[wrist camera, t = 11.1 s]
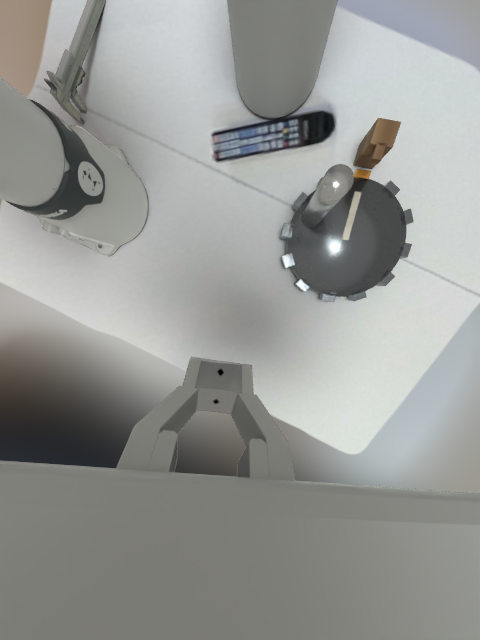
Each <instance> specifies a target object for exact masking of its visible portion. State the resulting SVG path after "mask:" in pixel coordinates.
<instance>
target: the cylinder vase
mask: <svg viewBox="0 0 480 640" xmlns="http://www.w3.org/2000/svg"><path fill="white" fill-rule="evenodd" d="M337 1H338V0H227V4H228V12H229V21H230V29H231V38H232V46H233V55H234V63H235V72H236V80H237V86H238V90H239V93H240V95H241V97H242V99H243V101H244V103H245V104H246V105H247V107H248V108H249V109H250V110H251V111H253V112H254V113H256V114H257V115H259V116H262V117H265V118H280V117H283V116H286V115H288V114H290V113H292V112H293V111H295V110H296V109H297V108H299V107H300V106H301V105H302V104H303V102H304V101H305V100H306V99H307V97H308V96H309V94H310V93H311V91H312V89H313V87H314V84H315V82H316V79H317V75H318V72H319V68H320V64H321V61H322V57H323V53H324V49H325V46H326V42H327V38H328V35H329V31H330V27H331V24H332V20H333V16H334V13H335V9H336V5H337Z"/></svg>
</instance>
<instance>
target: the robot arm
mask: <svg viewBox="0 0 480 640" xmlns="http://www.w3.org/2000/svg"><path fill="white" fill-rule="evenodd" d="M0 199H2V200H5V201H7V202H8V203H10V204H11V205H13V206H15V207H17V208H19V209H21V210H23V211H25V212H28V213H31V214H33V215H35V216H37V217H38V218H39V220H40V223H41V224H42V225H43V227H42V228H43V230H46V231H48V232H51V233H55V234H58V235H60V234H61V235H63V236H65V237H67V238H69V239H71V240H74V241H76V242H78V243H80V244H82V245H84V246H86V247H88V248H91V249H93V250H95V251H97V252H99V253H101V254H104V255H106V256H111V255H113V254H114V253H115V252H116V250H117V249H118V248H119V247H120V246H121V245H123V244H125V243H127V242H129V241H131V240H132V239H134V238H135V237H136V236H137V235H138V234H139V233H140V231H141V230H142V228H143V226H144V224H145V221H146V218H147V213H148V200H147V194H146V191H145V188H144V186H143V184H142V182H141V180H140V179H139V177H138V176H137V175H136V173H135V172H134V171H133V170H132V169H131V168H130V167H129V165H128V163H127V160H126V158H125V156H124V154H123V152H122V150H121V149H119V148H118V147H117V146H115V145H104V144H103V143H102V142H100V141H99V140H98V139H96V138H95V137H94V136H93V135H91V134H90V133H89V132H87V131H86V130H85V129H84V128H82V127H80V126H78V125H75V126H71V125H67V124H66V123H65V122H64V121H63V120H61V119H60V118H59V117H58V116H56V115H55V114H54V113H52V112H50V111H49V110H48V109H46V108H45V107H43V106H42V105H40V104H39V103H37V102H35V101H33V100H30V99H28V98H26V97H25V96H24V95H23V94H21V93H20V92H19V91H18V90H16V89H15V88H14V87H12V86H11V85H10V84H9V83H8V82H6V81H5V80H4V79H3V78H1V77H0ZM101 245H102V248H101ZM196 410H198V411H210V412H219V413H227V414H231V416H232V418H233V420H234V422H235V425H236V427H237V429H238V431H239V433H240V435H241V438H242V439H243V442H244V444H245V446H246V449H245V450H244V452H243V454H242V456H241V458H240V460H239V461H238V463H237V477H231V476H216V475H200V474H186V473H174V471H175V467H176V462H177V434H178V433H179V432H180V431H181V429H182V428H183V427H184V426H185V424H186V423H187V422H188V421H189V420H190V418H191V417H192V416H193V415H194V413H195V412H196ZM0 640H480V494H479V493H463V492H449V491H434V490H420V489H405V488H391V487H377V486H362V485H347V484H333V483H332V484H331V483H318V482H317V483H316V482H304V481H295V477H294V472H293V466H292V460H291V455H290V449H289V443H288V440H287V439H286V437H285V436H284V434H283V433H282V431H281V430H280V428H279V427H278V426H277V424H276V423H275V421H274V420H273V418H272V417H271V415H270V414H269V412H268V411H267V410H266V408H265V407H264V405H263V404H262V402H261V401H260V399H259V398H258V396H257V395H254V393H253V376H252V366H251V365H247V364H241V363H233V362H225V361H216V360H209V359H203V358H196V357H191V358H190V361H189V365H188V368H187V372H186V375H185V379H184V382H183V386H179V387H177V388H176V389H175V390H174V391H173V392H172V393H171V394H170V395H169V396H168V397H166V398H165V399H164V400H163V401H162V402H161V403H160V404H158V405H157V406H156V407H155V408H154V409H153V410H152V411H151V412H150V413H148V414H147V415H146V416H145V417H144V418H143V419H142V420H141V421H140V422H138V423H137V424H136V425H135V426H134V428H133V430H132V433H131V435H130V437H129V440H128V442H127V444H126V447H125V449H124V451H123V453H122V456H121V458H120V460H119V463H118V465H117V467H116V469H114V468H99V467H84V466H69V465H55V464H40V463H26V462H11V461H0Z"/></svg>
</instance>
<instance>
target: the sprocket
mask: <svg viewBox="0 0 480 640" xmlns="http://www.w3.org/2000/svg"><path fill="white" fill-rule="evenodd" d="M370 172H371V171H366V170H359V169H357V170H356V171H355V173H354V174H353V172H352V170H351V169H350V168H349V167H348V166H346V165H343V164H338V165H335V166H333V167H331V168H330V169H329V170H328V171H327V172H326V174H325V176H324V177H323V178H321V180H320V181H319V183H318V188H317V189H316V190H315V191H314V192H313V193H311V194H310V195H309V196H307V195H306V194H304V193H303V192H302V194H301V195H300V196H299V197H298V199H297V200H296V201H295V202H294V204H293V206H292V208H293V209H294V210H295V211H296V213H295V215H294V217H293V219H292V221H291V224H287V223H284V225H283V228H282V233H281V238H280V239H286V252H287V255H285V256H282V257H281V259H282V262H283V266H284V269H285V268H288V267H291V269H292V271H293V273H294V274H295V276H296V277H297V278H298V279H299V280H298V281H297V282H296V283H295V285H296V286H297V287H298V288H299V289H300V290H302V291H303V292H305V291H306V290H307V289H308V288H309V289H311V290H313V291H315V292H318V293H320V297H319V300H324V301H329V302H334V300H335V297H336V296H348V297H349V300H351V301H356V300H359V299H362V298H366V293H365V291H366V290H368V289H370V288H372V287H374V286H375V285H378V286H386V285H387V284H388V283H389V282H390V281H391V280H392V279H393V278H394V277H395V276H394V275H393V274H392V273H391V271H392V269H393V268H394V267H395V265H396V264H397V262H398V260H399V259H401V258H406V257H408V254H409V251H410V248H411V245H412V244H408V243H405V239H406V225H407V224H409V223H412V222H413V217H412V212H411V209H408V210H406V211H403V209H402V207H401V205H400V203H399V201H398V200H397V198H396V197H395V195H396V194H397V193H398V192H399V190H400V189H399V188H398V187H397V186H396V185H395V184H394V183H393V182H392V181H389V182H388V183H387V184H386V185H384V186H383V185H381V184H379V183H378V182H375V181H373V180H370V179H369V176H370Z"/></svg>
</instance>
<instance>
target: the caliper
mask: <svg viewBox="0 0 480 640" xmlns="http://www.w3.org/2000/svg"><path fill="white" fill-rule="evenodd" d="M105 3H106V0H87V3H86V6H85V8H84V11H83V14H82V16H81V19H80V22H79V25H78V27H77V30H76V33H75V35H74V38H73V41H72V43H71V46H70V49H69V51H68V50H66V49H65V51H64V54H63V57H62V59H61V62H60V64H59V67H58V69H57V72H56V74H55V75H54V74H53V73H51V72H49V71H47V74H48V76H49V78H50V80H51V81H50V80H47V79H44V80H45V81H46V83H47V84H48V85H49V86H50V88H51V90H50V93H51V94H52V95H53V97H54V98H55V99H56V101H57V102H58V103H59V104H60V106H61V107H62V108H63V109H64V110H65V111H66V112H67V113H69V114H70V115H71V116H72V117H73V118H74V119H75V120H76V121H78V122H81V123H84V120H83V119H82V118H81V117H80V115H79V114H78V113H77V111H76V110H75V108H74V107H73V106H72V104H71V103H70V102H69V98H71V100H72V101H73V102H74V104H75V105H76V106H77V108H79V110H80V111H81V112H83V113H86V111H87V110H86V108H85V106H84V104H83V102H82V100H81V98H80V96H79V94H78V92H77V90H76V88H77V85H78V86H79V85H80V84H81V83H82V78H83V77H84V76H85V72H84V71H83V69H82V64H83V61H84V59H85V56H86V53H87V51H88V48H89V45H90V43H91V40H92V37H93V34H94V32H95V29H96V27H97V24H98V21H99V19H100V16H101V14H102V11H103V8H104V6H105Z"/></svg>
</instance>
